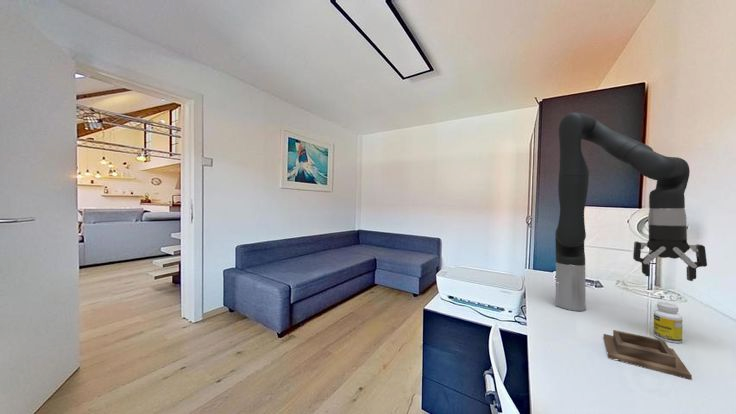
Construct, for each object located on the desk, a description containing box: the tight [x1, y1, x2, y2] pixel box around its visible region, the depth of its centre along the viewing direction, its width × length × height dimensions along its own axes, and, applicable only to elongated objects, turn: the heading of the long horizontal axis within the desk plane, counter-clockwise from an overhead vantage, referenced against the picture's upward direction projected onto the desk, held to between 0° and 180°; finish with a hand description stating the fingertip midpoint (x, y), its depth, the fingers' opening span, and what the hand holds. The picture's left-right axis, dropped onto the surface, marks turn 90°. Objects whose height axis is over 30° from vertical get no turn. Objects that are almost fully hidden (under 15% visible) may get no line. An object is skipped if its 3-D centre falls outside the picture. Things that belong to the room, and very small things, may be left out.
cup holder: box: [603, 329, 693, 381], centre depth 70 cm, size 14×14×4 cm
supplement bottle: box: [653, 301, 683, 344], centre depth 78 cm, size 6×6×10 cm
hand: (667, 278), depth 78 cm, fingers open, 8 cm apart
